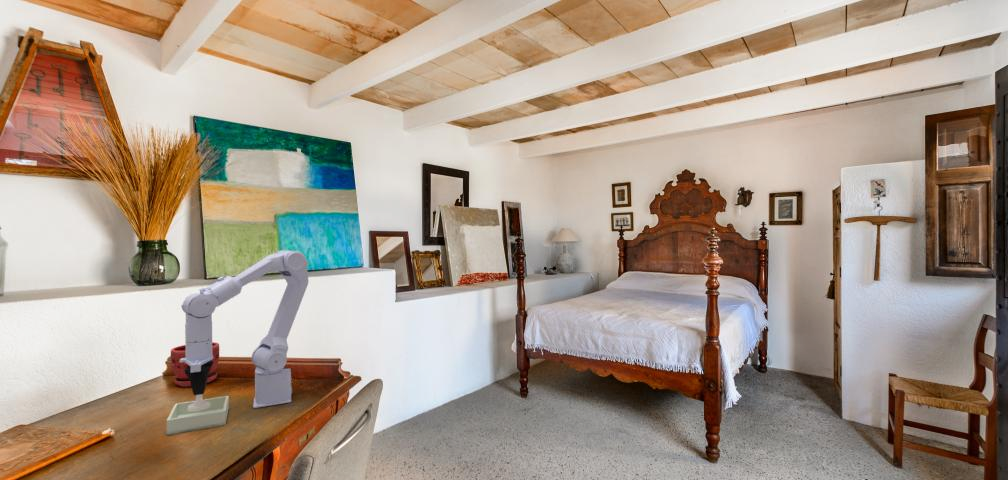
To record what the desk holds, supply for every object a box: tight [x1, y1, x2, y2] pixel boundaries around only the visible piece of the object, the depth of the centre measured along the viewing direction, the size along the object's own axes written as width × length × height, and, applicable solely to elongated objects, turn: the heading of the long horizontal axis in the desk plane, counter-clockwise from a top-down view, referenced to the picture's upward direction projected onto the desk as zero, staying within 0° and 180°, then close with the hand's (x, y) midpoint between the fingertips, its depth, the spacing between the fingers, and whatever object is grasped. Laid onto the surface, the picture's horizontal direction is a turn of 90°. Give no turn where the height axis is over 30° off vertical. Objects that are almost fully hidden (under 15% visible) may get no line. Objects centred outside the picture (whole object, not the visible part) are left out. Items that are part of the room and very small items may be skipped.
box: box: [165, 395, 230, 436], centre depth 115 cm, size 12×12×4 cm
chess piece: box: [187, 394, 210, 411], centre depth 115 cm, size 5×5×10 cm
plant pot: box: [170, 341, 220, 387], centre depth 145 cm, size 13×13×12 cm
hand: (199, 392), depth 115 cm, fingers closed on chess piece, 2 cm apart
